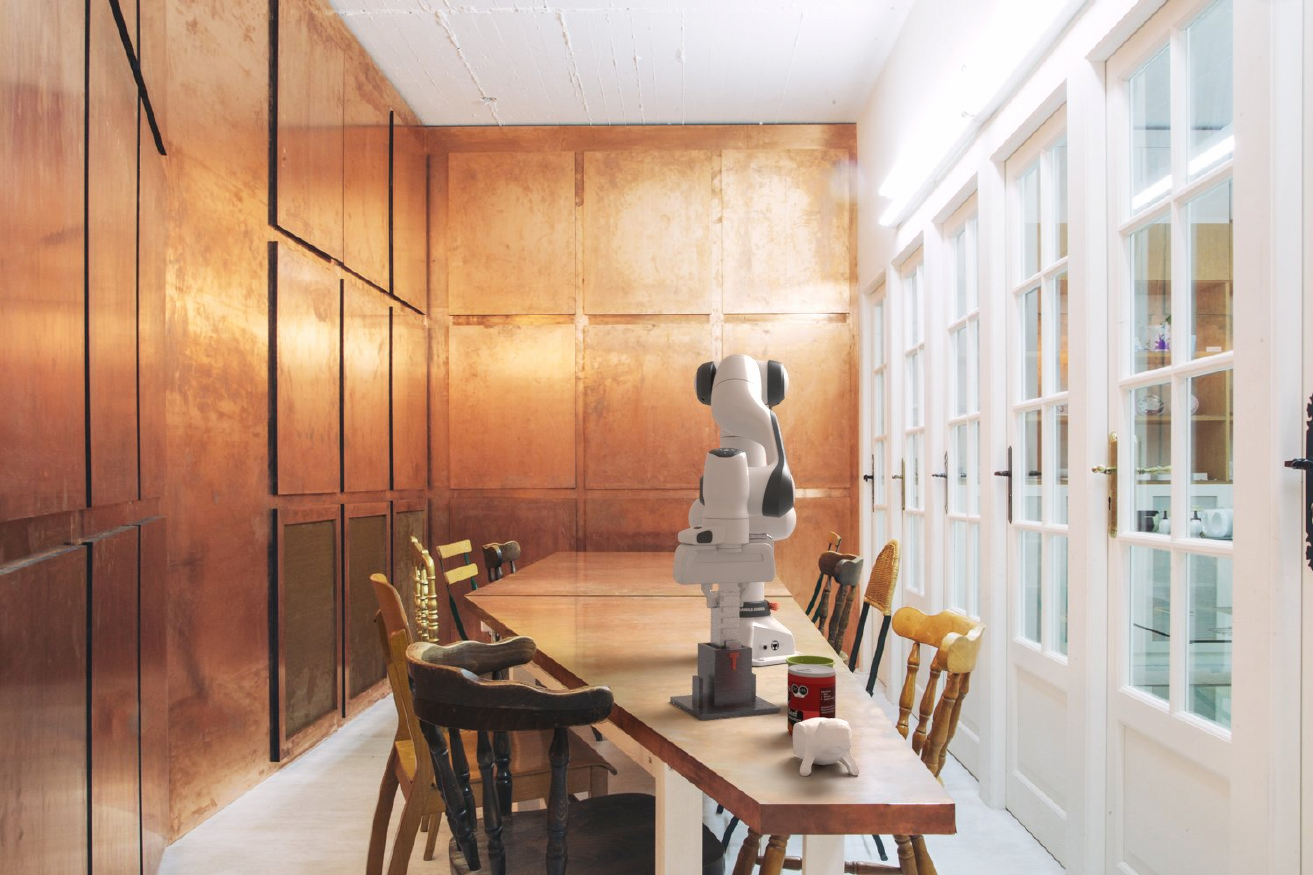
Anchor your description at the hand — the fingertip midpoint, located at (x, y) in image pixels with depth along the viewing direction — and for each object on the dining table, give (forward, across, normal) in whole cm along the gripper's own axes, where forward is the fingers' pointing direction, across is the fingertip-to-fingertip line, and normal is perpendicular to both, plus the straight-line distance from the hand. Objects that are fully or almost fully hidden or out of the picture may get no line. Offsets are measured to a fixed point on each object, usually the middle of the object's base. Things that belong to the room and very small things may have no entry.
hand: (724, 607), depth 168 cm
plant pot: (+19, -16, +4) cm, 25 cm away
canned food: (+19, -6, +21) cm, 29 cm away
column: (+17, 0, 0) cm, 17 cm away
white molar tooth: (+19, +2, +38) cm, 42 cm away
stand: (+19, 0, 0) cm, 19 cm away
